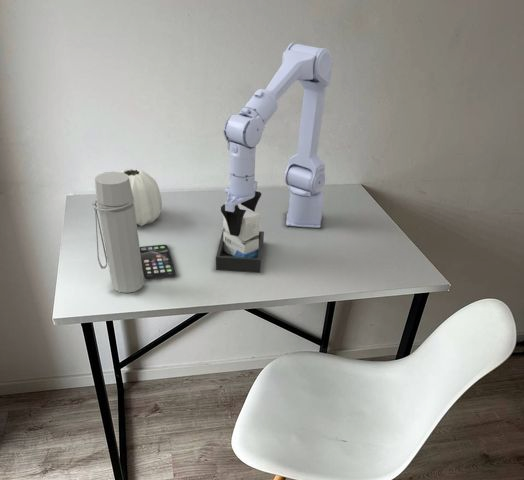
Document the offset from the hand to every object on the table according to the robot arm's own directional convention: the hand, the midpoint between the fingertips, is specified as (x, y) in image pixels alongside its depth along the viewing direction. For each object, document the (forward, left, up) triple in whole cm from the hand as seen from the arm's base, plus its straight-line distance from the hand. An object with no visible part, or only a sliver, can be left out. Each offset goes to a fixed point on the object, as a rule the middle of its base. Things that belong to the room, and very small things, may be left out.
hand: (241, 228), depth 125 cm
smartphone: (+20, +6, -8) cm, 22 cm away
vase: (+30, -16, -8) cm, 35 cm away
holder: (0, 0, -8) cm, 8 cm away
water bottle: (+25, +17, -8) cm, 31 cm away
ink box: (0, 0, -7) cm, 7 cm away
